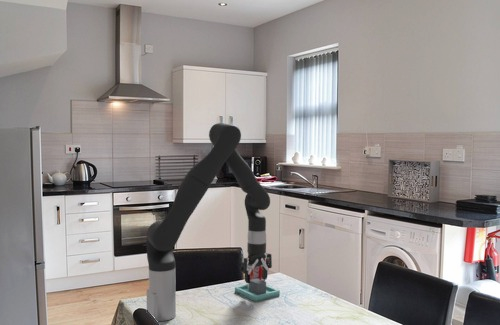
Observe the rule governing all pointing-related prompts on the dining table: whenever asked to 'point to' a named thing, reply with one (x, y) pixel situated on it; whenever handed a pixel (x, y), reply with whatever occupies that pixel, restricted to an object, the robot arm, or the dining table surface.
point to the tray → (246, 293)
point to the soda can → (256, 273)
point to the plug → (257, 286)
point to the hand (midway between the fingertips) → (256, 280)
